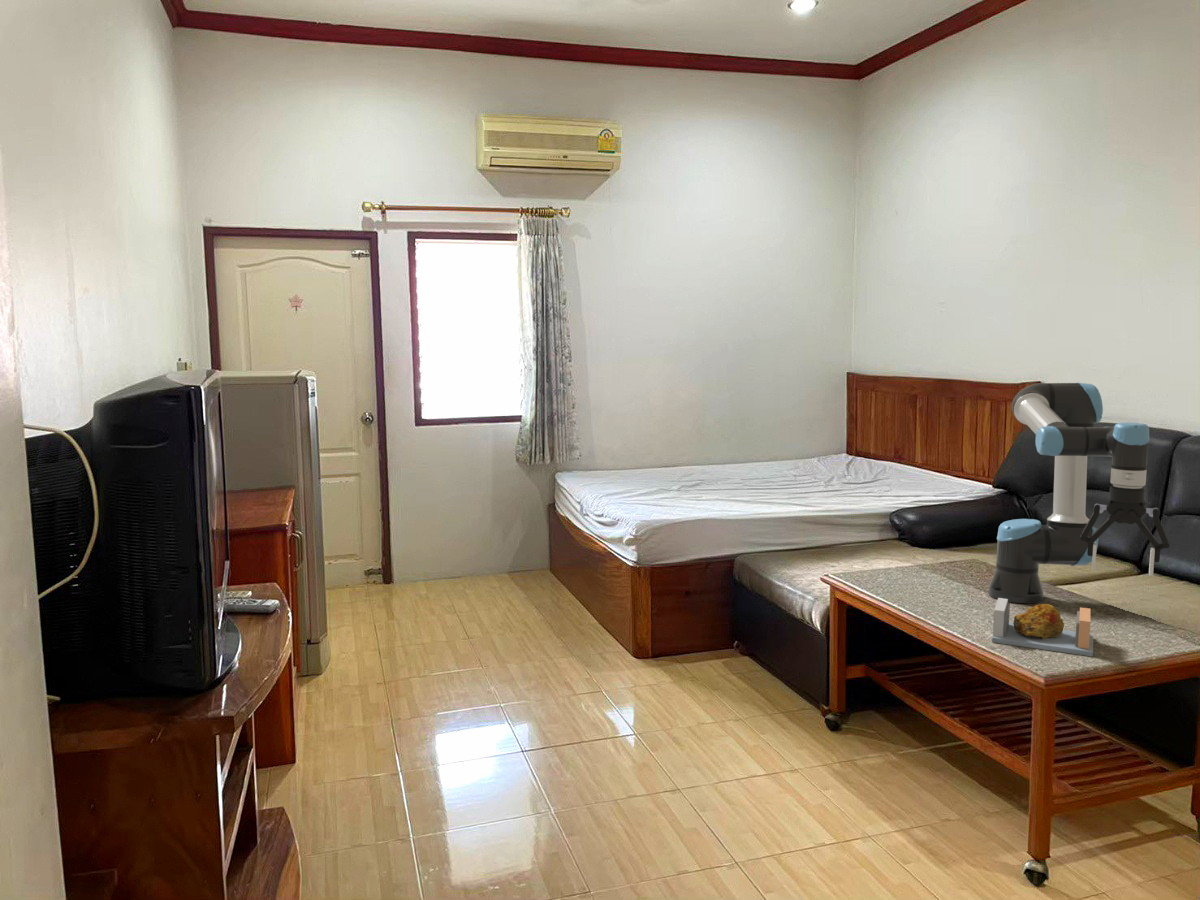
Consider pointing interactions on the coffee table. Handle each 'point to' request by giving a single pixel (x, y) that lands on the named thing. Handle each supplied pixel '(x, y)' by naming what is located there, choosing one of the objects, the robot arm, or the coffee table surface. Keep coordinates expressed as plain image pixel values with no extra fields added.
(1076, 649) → the base
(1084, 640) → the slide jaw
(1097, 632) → the coffee table surface
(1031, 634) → the rock
